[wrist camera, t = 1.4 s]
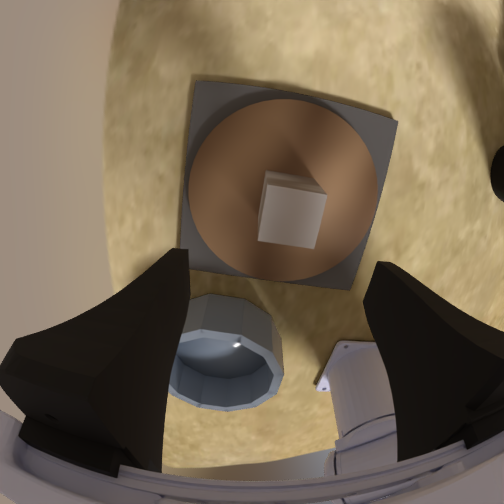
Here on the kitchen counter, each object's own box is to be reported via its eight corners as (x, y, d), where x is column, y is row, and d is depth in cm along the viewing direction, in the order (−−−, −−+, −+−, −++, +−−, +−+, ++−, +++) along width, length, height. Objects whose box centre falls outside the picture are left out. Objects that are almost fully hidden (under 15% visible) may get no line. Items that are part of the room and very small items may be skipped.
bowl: (291, 304, 25) (296, 340, 21) (267, 381, 30) (268, 415, 26) (163, 286, 24) (147, 319, 20) (167, 367, 29) (158, 399, 25)
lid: (390, 125, 17) (425, 131, 13) (346, 284, 23) (362, 322, 19) (202, 88, 16) (183, 80, 12) (185, 262, 22) (170, 299, 18)
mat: (394, 120, 17) (398, 121, 17) (348, 286, 24) (349, 290, 23) (197, 81, 17) (195, 80, 16) (181, 263, 23) (179, 267, 22)
